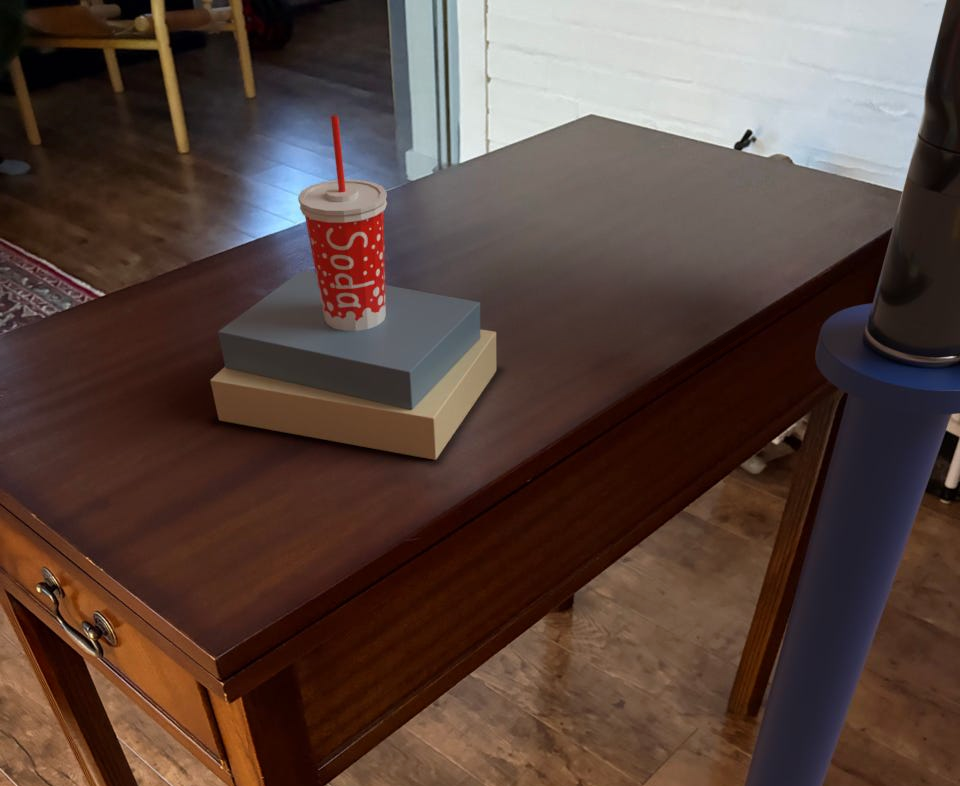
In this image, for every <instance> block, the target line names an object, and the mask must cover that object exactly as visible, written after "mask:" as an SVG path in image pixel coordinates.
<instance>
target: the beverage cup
mask: <svg viewBox="0 0 960 786" xmlns="http://www.w3.org/2000/svg"><path fill="white" fill-rule="evenodd" d="M330 122H331V131H332V140H333V141H332V142H333V150H334V151H333V152H334V159H335V161H334V162H335V169H336V178H337V179H334V180H326V181H322V182H318V183H315V184H312V185H309V186H308V187H306V188H305V189H302V190H301V191H300V193H299V195H298V196H297V200H298V203H299V210H300V211H301V214H302V215H303V216H304V219H305V224H306V230H307V234H308V240H309V245H310V250H311V255H312V260H313V265H314V272H316V277H317V282H318V287H319V292H320V298H321V303H322V308H323V313H324V319H325V321H326V323H327V325H329V326H331V327H332V328H334V329H339V330H343V331H360V330H366V329H370V328H372V327H375V326H378V325H379V324H380V323H381V322H383V321H384V319H385V316H386V306H385V285H386V261H385V260H386V259H385V258H386V257H385V254H386V253H385V210H386V207H387V205H388V202H387V197H388V192H387V191H386V189H385V188H384V187H383V186H382V185H380V184H378V183H375V182H374V181H370V180H362V179H349V178H348V179H345V171H344V162H343V153H342V142H341V133H340V122H339V115H338V114H331V115H330Z"/></svg>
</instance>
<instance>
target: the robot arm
mask: <svg viewBox="0 0 960 786" xmlns="http://www.w3.org/2000/svg"><path fill="white" fill-rule="evenodd" d="M891 229H892V230H891V233H890V237H889V241H888V245H887V248H886V252H885V256H884V260H883V264H882V268H881V271H880V274H879V279H878V283H877V286H876V289H875V293H874V298H873V301H872V303H873V305H872V309H871V311H870V314H869V318H868V321H867V323H866V327H865V331H864V334H863V339H864V342H865V344H866V345H867V346H868V348H869V349H871V350H872V351H873V352H874V353H876V354H878V355H879V356H881V357H883V358H885V359H888V360H890V361H893V362H896V363H899V364H903V365H908V366H913V367H920V368H946V367H953V366H957V365H960V0H945V4H944V7H943V12H942V16H941V20H940V24H939V29H938V33H937V37H936V41H935V46H934V48H933V53H932V58H931V62H930V65H929V70H928V73H927V78H926V82H925V88H924V95H923V111H922V115H921V121H920V124H919V128H918V131H917V134H916V138H915V143H914V147H913V150H912V154H911V158H910V161H909V165H908V171H907V173H906V177H905V181H904V184H903V188H902V192H901V196H900V200H899V204H898V207H897V211H896V214H895V218H894V223H893V226H892V228H891Z"/></svg>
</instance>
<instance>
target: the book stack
mask: <svg viewBox="0 0 960 786" xmlns="http://www.w3.org/2000/svg"><path fill="white" fill-rule="evenodd" d="M385 306H386V316H385V319H384V321H383V322H381V323H380V324H379V325H378V326H375V327H372V328H370V329H366V330H360V331H343V330H339V329H334V328H332V327H331V326H329V325H327V323H326V321H325V319H324V313H323V308H322V303H321V298H320V292H319V287H318V282H317V277H316V271H312V270H306V269H302V270H300V271H298V272H297V273H296V274H294V275H293V276H292V277H291V278H289V279H288V280H286V281H285V282H284V283H283V284H281V285H280V286H279V287H277V288H275V289H274V290H273V291H271V292H270V293H269V294H267V295H266V296H265V297H263V298H262V299H261V300H259V301H258V302H256V303H255V304H254V305H252V306H251V307H249V308H248V309H247V310H245V311H244V312H242V313H241V314H240V315H238V316H237V317H236V318H234V319H233V320H232V321H230V322H229V323H228V324H226V325H225V326H223V327H222V328H221V329H219V330H218V332H217V333H218V339H219V343H220V348H221V354H222V359H223V364H224V367H222V369H221V370H220V371H218V372H217V373H216V374H215V375H214V376H213V377H212V378H210V380H209V381H210V385H211V390H212V394H213V400H214V404H215V407H216V408H215V409H216V415H217V418H218V421H220V422H224V423H231V424H237V425H242V426H246V427H254V428H258V429H262V430H263V429H264V430H268V431H269V430H270V431H274V432H280V433H286V434H291V435H297V436H302V437H307V438H313V439H319V440H324V441H329V442H335V443H341V444H346V445H351V446H357V447H361V448H369V449H374V450H377V451H378V450H379V451H385V452H389V453H395V454H401V455H406V456H412V457H417V458H422V459H427V460H433V461H436V460H437V459H438V458H439V456H440V455H441V453H442V452H443V450H444V449H445V447H446V446H447V444H448V442H450V440H451V439H452V437H453V435H454V434H455V433H456V431H457V430H458V428H459V427H460V425H462V422H463V421H464V419H465V418H466V417H467V415H468V414H469V412H470V411H471V409H472V408H473V406H474V405H475V403H476V402H477V400H478V399H479V397H480V396H481V394H482V393H483V392H484V390H485V388H486V387H487V386H488V385H489V383H490V381H491V380H492V378H494V375H495V374H496V372H497V332H496V331H493V330H487V329H481V302H479V301H476V300H475V301H474V300H469V299H465V298H464V299H463V298H459V297H452V296H448V295H442V294H437V293H431V292H426V291H420V290H414V289H411V288H409V289H408V288H405V287H404V288H403V287H398V286H392V285H388V284H385Z"/></svg>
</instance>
